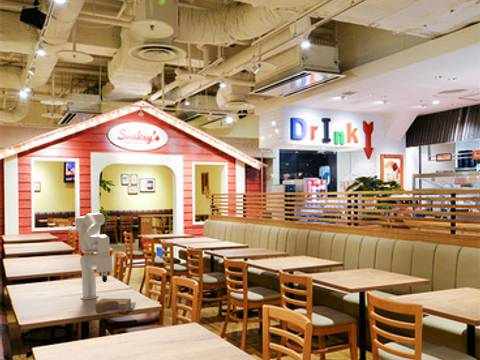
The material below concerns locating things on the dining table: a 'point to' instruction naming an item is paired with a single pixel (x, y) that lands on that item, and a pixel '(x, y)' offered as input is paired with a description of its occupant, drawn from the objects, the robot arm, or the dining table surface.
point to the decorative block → (113, 305)
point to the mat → (129, 308)
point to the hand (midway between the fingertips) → (104, 281)
